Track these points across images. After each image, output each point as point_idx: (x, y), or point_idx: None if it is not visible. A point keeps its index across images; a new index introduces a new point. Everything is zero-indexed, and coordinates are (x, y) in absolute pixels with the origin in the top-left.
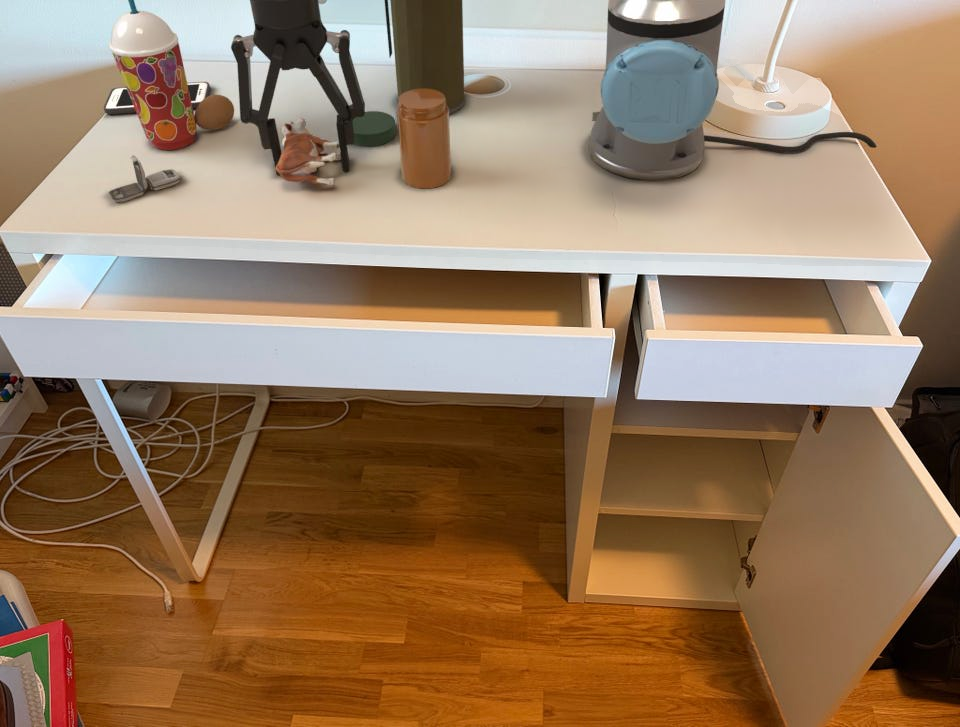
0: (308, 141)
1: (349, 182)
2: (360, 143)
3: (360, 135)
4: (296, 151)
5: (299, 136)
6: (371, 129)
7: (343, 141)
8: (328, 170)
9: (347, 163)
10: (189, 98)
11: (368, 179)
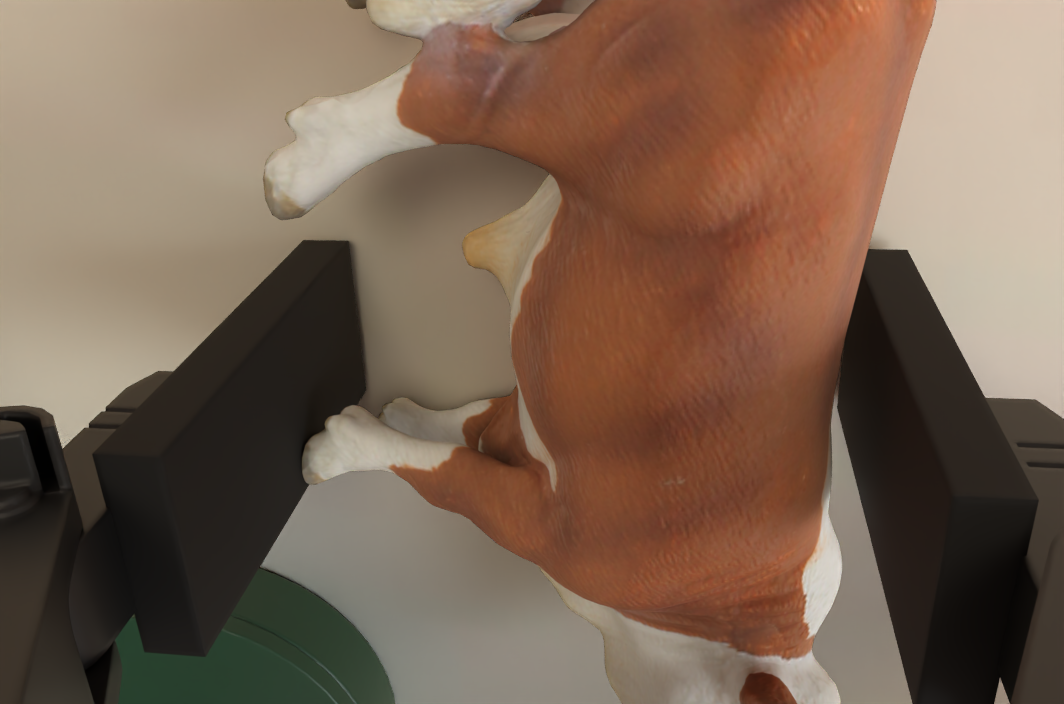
0: (558, 410)
1: (281, 76)
2: (271, 585)
3: (240, 626)
4: (666, 150)
5: (657, 519)
6: (165, 674)
7: (201, 355)
8: (474, 287)
9: (282, 265)
10: None
11: (136, 106)
